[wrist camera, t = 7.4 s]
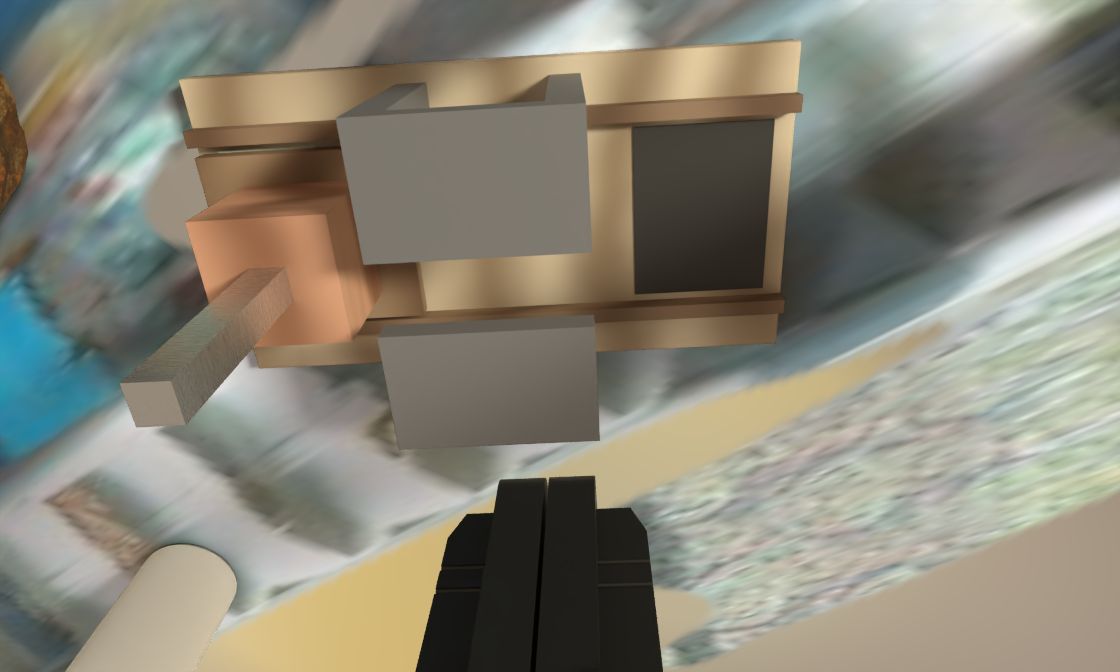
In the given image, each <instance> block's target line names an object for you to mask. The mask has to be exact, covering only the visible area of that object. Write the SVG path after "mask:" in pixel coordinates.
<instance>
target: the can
mask: <svg viewBox="0 0 1120 672" xmlns="http://www.w3.org/2000/svg"><path fill="white" fill-rule="evenodd" d="M236 590H237V582H236V578H235V575H234V573H233V571H232V569H231V567H230V566H229V564H228V563H227V562H226V561H225V560H224V559H223V558H222V557H221V556H219V555H218V554H216V553H215V552H213V551H211V550H209V549H207V548H204V547H201V546H197V545H192V544H177V545H171V546H166V547H163V548H161V549H159V550H157V551H155V552H154V553H153V554H151V555H150V556H149V558H148V559H147V560H146V561H145V563H144V564H143V565H142V567H141V568H140V569H139V571H138V572H137V573H136V575H135V576H134V577H133V579H132V580H131V581H130V583H129V584H128V586H127V587H126V588H125V590H124V591H123V592H122V594H121V595H120V596H119V598H118V599H117V601H116V602H115V603H114V605H113V606H112V607H111V609H110V610H109V612H108V613H107V614H106V616H105V617H104V618H103V620H102V621H101V623H100V624H99V625H98V627H97V628H96V629H95V631H94V632H93V634H92V635H91V636H90V638H89V639H88V641H87V642H86V643H85V645H84V646H83V647H82V649H81V650H80V652H79V653H78V654H77V656H76V657H75V659H74V660H73V661H72V663H71V664H70V666H69V667H68V668H67V670H66V671H65V672H194V671H195V669H196V667H197V666H198V664H199V662H200V660H201V658H202V657H203V655H204V653H205V651H206V649H207V647H208V645H209V644H210V642H211V640H212V638H213V636H214V634H215V632H216V631H217V629H218V627H219V625H220V623H221V621H222V619H223V618H224V616H225V614H226V612H227V610H228V608H229V606H230V604H231V602H232V600H233V598H234V596H235V594H236Z"/></svg>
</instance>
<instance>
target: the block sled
mask: <svg viewBox="0 0 1120 672" xmlns="http://www.w3.org/2000/svg"><path fill="white" fill-rule="evenodd" d="M195 161H196V165H197V168H198V172H199V175H200V179H201V182H202V186H203V189H204V193H205V197H206V200H207V204H208V207H209V208H207V209H205V210H204V211H202V212H200V213H199V214H197V215H196V216H194V217H192V218H191V219H189V220H187V221H186V222H185V224H186V227H187V231H188V234H189V238H190V241H191V244H192V248H193V251H194V254H195V258H196V261H197V264H198V268H199V271H200V274H201V278H202V281H203V284H204V288H205V291H206V294H207V298H208V301H209V305H208V306H206V307H205V308H204V309H203V310H202V311H201V312H200V313H199V314H197V315H196V316H195V317H194V318H193V319H192V320H191V321H190V322H188V323H187V324H186V325H185V326H184V327H183V328H182V329H180V330H179V331H178V332H177V333H176V334H175V335H174V336H173V337H171V338H170V339H169V340H168V341H167V342H166V343H165V344H164V345H162V346H161V347H160V348H159V349H158V350H157V351H156V352H155V353H153V354H152V355H151V356H150V357H149V358H148V359H147V360H146V361H144V362H143V363H142V364H141V365H140V366H139V367H138V368H137V369H135V370H134V371H133V372H132V373H131V374H130V375H129V376H128V377H126V378H125V379H124V380H123V381H122V382H121V383H120V386H121V388H122V391H123V393H124V396H125V399H126V401H127V404H128V407H129V409H130V412H131V414H132V417H133V420H134V422H135V425H136V427H152V426H173V425H186V424H187V423H188V422H189V421H190V420H191V418H192V417H193V416H194V415H195V414H196V413H197V412H198V410H199V409H200V408H201V407H202V406H203V405H204V403H205V402H206V401H207V400H208V399H209V398H210V397H211V395H212V394H213V393H214V392H215V391H216V390H217V388H218V387H219V386H220V385H221V384H222V383H223V382H224V380H225V379H226V378H227V377H228V376H229V375H230V373H231V372H232V371H233V370H234V369H235V368H236V367H237V365H238V364H239V363H240V362H241V361H242V360H243V359H244V357H245V356H246V355H247V354H248V353H249V352H250V350H251V349H252V348H253V347H267V346H287V345H307V344H327V343H347V342H353V340H354V339H355V337H356V335H357V334H358V332H359V330H360V329H361V327H362V325H363V324H364V322H365V320H366V319H367V318H385V317H405V316H424V314H425V312H426V310H427V304H426V297H425V291H424V284H423V278H422V271H421V265H420V262H408V263H389V264H370V265H363V260H362V254H361V249H360V244H359V239H358V233H357V228H356V223H355V218H354V212H353V207H352V202H351V197H350V191H349V186H348V181H347V176H346V170H345V165H344V160H343V155H342V149H341V146H334V147H317V148H300V149H283V150H266V151H249V152H231V153H214V154H203V155H201V156H199V157H197V158H195Z"/></svg>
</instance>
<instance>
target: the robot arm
mask: <svg viewBox="0 0 1120 672" xmlns="http://www.w3.org/2000/svg"><path fill="white" fill-rule="evenodd" d="M441 567H442V569H441V571H440V573H439V577H438V581H437V585H436V594H434V598H433V602H432V606H431V610H430V614H429V618H428V622H427V626H426V631H425V635H424V639H423V643H422V647H421V651H420V655H419V659H418V663H417V668H416V672H663V667H662V658H661V650H660V641H659V634H658V624H657V615H656V607H655V598H654V590H653V582H652V573H651V564H650V556H649V547H648V538H647V531H646V529H645V528H644V526H643V525H642V524H641V522H640V521H639V519H638V518H637V517H636V515H635V514H634V512H633V511H632V510H631V508H609V509H597V500H596V485H595V476H575V477H550V478H549V483H548V485H547V480H546V478H530V479H505V480H500V481H499V485H498V490H497V496H496V502H495V509H494V513H480V514H467V515H466V516H465V517H464V518H463V520H462V521H461V522H460V523H459V525H458V526H457V527H456V528H455V530H454V531H453V532H452V534H451V535H450V536H449V537H448V540H447V544H446V548H445V552H444V557H443V561H442V565H441Z"/></svg>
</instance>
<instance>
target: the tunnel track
mask: <svg viewBox="0 0 1120 672" xmlns="http://www.w3.org/2000/svg"><path fill="white" fill-rule="evenodd" d="M800 50H801V41H797V40H793V39H789V40H773V41H757V42H741V43H725V44H709V45H693V46H677V47H660V48H644V49H628V50H612V51H596V52H580V53H564V54H548V55H531V56H515V57H499V58H483V59H467V60H451V61H435V62H419V63H402V64H386V65H370V66H354V67H338V68H322V69H307V70H290V71H274V72H257V73H241V74H225V75H209V76H193V77H189V78H185V79H181V80H179V82H180V85H181V89H182V93H183V96H184V100H185V103H186V107H187V111H188V114H189V118H190V121H191V125H192V129H189V130H187V131H184V132H183V135H184V138H185V142H186V145H187V149H189V148H198V150H199V153H200V156H201V155H203V154H214V153H231V152H249V151H266V150H283V149H300V148H317V147H334V146H341V149H342V155H343V160H344V165H345V170H346V176H347V181H348V186H349V191H350V197H351V202H352V207H353V212H354V218H355V223H356V228H357V233H358V239H359V244H360V249H361V254H362V260H363V265H370V264H389V263H408V262H420V265H421V271H422V278H423V284H424V291H425V297H426V304H427V310H426V312H425V314H424V316H405V317H385V318H367V319H366V320H365V322H364V324H363V325H362V327H361V329H360V330H359V332H358V334H357V335H356V337H355V339H354V340H353V342H347V343H327V344H307V345H287V346H267V347H253V348H254V352H255V355H256V359H257V362H258V366H259V368H278V367H298V366H319V365H339V364H359V363H380V362H382V364H383V370H384V375H385V380H386V385H387V391H388V396H389V401H390V406H391V412H392V417H393V422H394V427H395V433H396V438H397V443H398V448H399V450H404V449H426V448H448V447H470V446H492V445H514V444H537V443H559V442H581V441H600V435H599V410H598V385H597V361H596V352H604V351H624V350H644V349H665V348H685V347H706V346H726V345H746V344H767V343H776V335H777V323H778V314H784V307H785V299H784V298H783V296H782V295H781V294H780V288H781V276H782V264H783V252H784V240H785V228H786V216H787V204H788V192H789V181H790V169H791V157H792V145H793V133H794V121H795V113H801V112H802V102H803V95H802V94H800V93H797V85H798V73H799V62H800Z"/></svg>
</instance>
